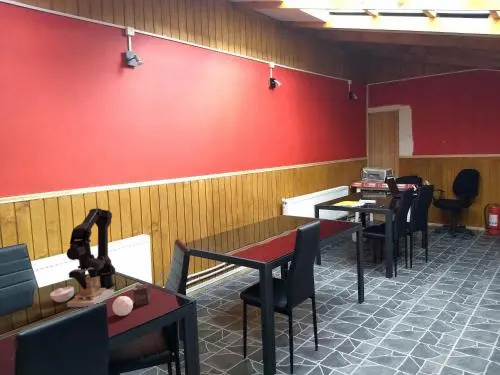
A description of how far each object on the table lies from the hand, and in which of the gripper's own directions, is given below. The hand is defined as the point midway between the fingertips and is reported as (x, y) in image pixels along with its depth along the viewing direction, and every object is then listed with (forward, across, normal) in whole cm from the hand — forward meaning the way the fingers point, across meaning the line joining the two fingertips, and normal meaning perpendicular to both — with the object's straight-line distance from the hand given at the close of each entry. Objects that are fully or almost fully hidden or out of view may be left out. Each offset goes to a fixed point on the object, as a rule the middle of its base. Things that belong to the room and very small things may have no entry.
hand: (89, 286), depth 192 cm
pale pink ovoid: (+7, -15, -27) cm, 32 cm away
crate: (+3, 0, 0) cm, 3 cm away
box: (+7, -4, -29) cm, 30 cm away
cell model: (+7, 0, +15) cm, 17 cm away
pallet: (+5, 0, 0) cm, 5 cm away
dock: (+7, 0, 0) cm, 7 cm away
